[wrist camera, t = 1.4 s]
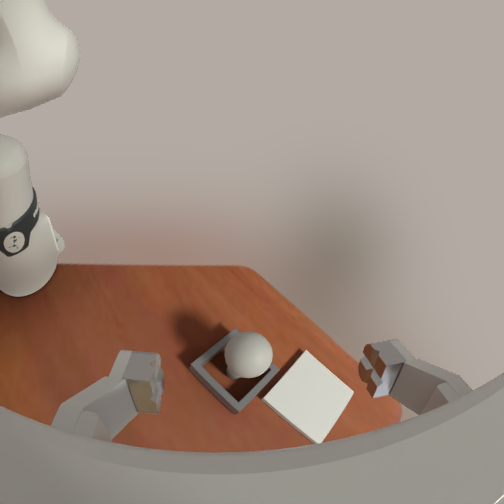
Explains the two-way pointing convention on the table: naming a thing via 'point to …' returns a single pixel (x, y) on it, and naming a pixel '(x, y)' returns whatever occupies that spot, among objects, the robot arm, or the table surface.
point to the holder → (216, 387)
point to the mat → (309, 397)
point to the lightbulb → (247, 355)
